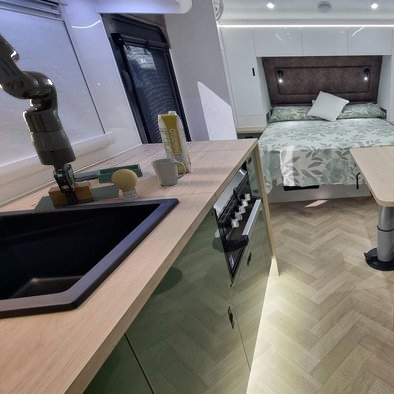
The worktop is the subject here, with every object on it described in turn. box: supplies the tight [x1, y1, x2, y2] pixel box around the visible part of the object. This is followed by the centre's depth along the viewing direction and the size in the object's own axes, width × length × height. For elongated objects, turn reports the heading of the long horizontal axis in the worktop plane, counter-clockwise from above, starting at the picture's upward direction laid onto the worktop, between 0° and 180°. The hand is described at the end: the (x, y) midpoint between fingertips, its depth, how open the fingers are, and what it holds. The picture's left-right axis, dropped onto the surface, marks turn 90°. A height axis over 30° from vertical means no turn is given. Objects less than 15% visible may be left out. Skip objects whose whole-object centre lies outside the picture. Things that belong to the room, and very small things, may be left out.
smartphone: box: [74, 166, 115, 182], centre depth 115 cm, size 8×2×15 cm
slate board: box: [31, 184, 120, 214], centre depth 93 cm, size 20×16×1 cm
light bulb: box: [111, 169, 139, 201], centre depth 90 cm, size 6×6×10 cm
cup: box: [151, 157, 187, 187], centre depth 105 cm, size 8×10×8 cm
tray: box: [96, 163, 143, 184], centre depth 112 cm, size 13×9×4 cm
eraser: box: [47, 181, 95, 208], centre depth 89 cm, size 9×5×5 cm, turn 127°
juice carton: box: [157, 110, 192, 175], centre depth 116 cm, size 9×8×24 cm
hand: (75, 200), depth 89 cm, fingers closed on eraser, 5 cm apart
